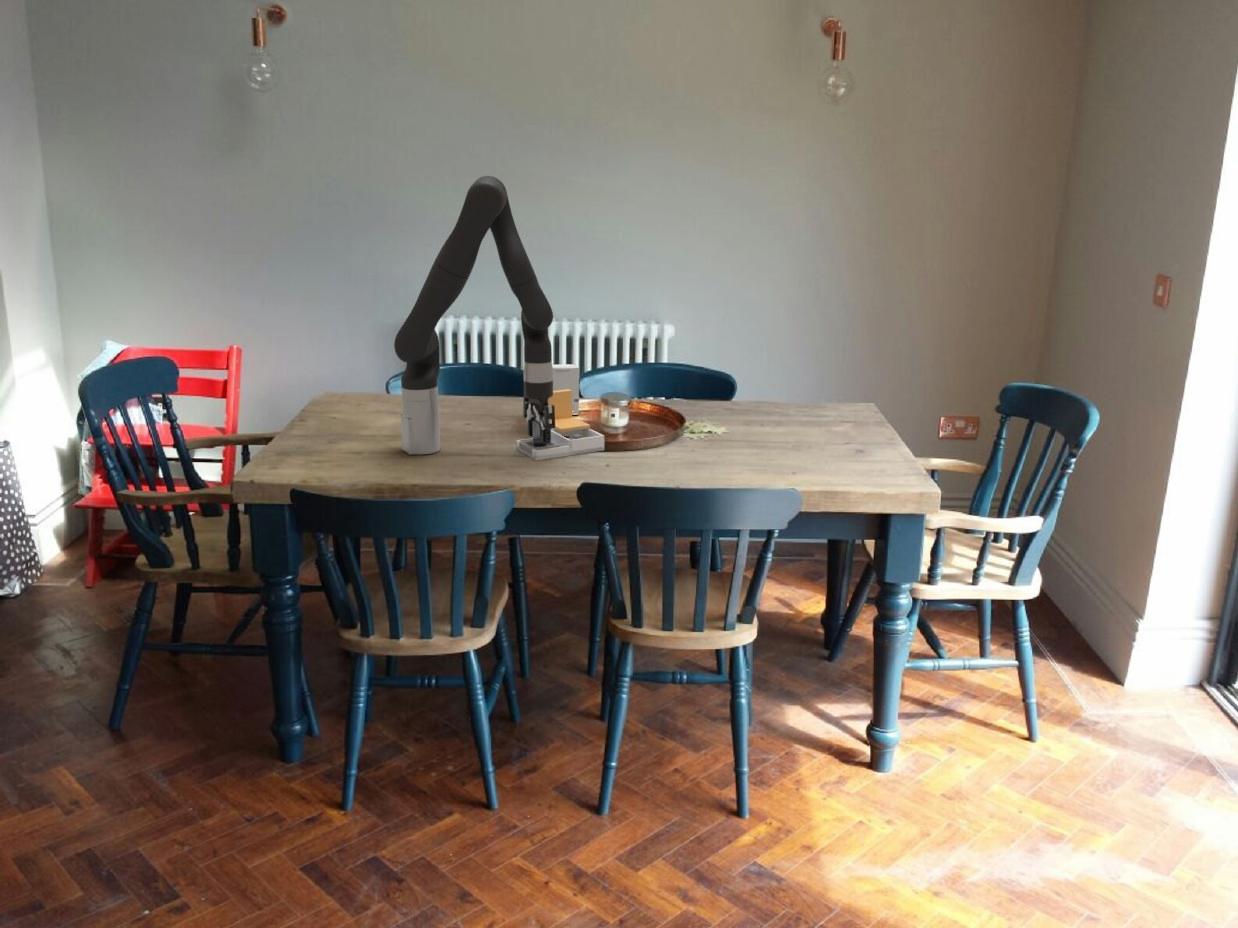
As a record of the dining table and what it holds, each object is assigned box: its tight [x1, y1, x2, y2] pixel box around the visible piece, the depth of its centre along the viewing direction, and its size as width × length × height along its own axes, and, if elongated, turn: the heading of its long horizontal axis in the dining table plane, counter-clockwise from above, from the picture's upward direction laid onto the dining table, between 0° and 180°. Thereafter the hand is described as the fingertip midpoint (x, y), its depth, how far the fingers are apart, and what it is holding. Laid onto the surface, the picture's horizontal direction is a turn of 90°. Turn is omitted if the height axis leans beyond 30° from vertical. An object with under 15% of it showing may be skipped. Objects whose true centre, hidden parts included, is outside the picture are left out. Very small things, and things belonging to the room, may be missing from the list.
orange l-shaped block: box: [548, 389, 591, 432], centre depth 306 cm, size 9×12×8 cm
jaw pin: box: [532, 420, 547, 448], centre depth 295 cm, size 4×4×8 cm
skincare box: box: [552, 363, 580, 414], centre depth 334 cm, size 8×6×15 cm
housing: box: [515, 428, 605, 461], centre depth 302 cm, size 20×20×4 cm
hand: (539, 439), depth 296 cm, fingers open, 8 cm apart
